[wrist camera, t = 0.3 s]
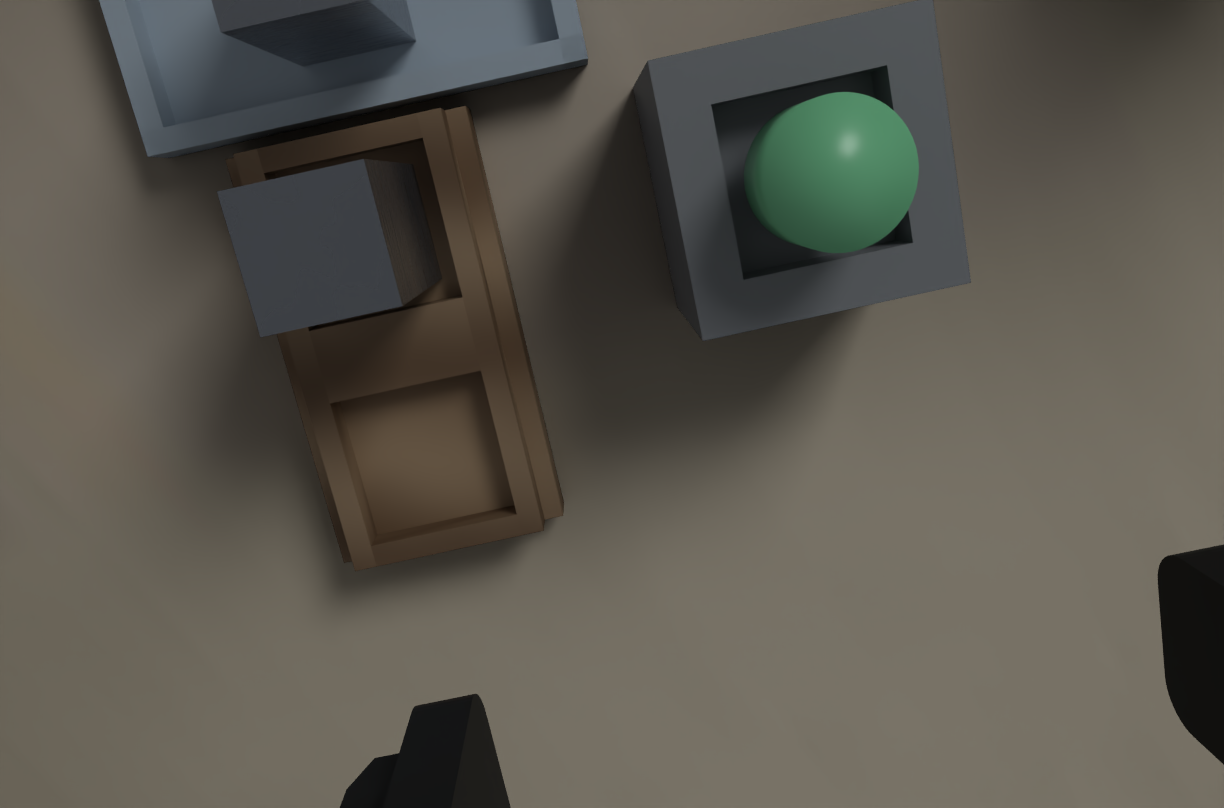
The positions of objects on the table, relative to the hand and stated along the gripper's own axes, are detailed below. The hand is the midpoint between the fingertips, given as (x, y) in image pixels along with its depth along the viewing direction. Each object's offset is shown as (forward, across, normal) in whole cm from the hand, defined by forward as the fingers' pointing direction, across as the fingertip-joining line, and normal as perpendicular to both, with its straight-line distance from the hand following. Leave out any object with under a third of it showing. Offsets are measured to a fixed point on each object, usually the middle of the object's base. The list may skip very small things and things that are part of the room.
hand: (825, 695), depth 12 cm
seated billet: (+25, +9, -6) cm, 27 cm away
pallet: (+26, +9, -2) cm, 28 cm away
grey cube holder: (+26, -5, -5) cm, 27 cm away
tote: (+26, +8, -14) cm, 31 cm away
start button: (+18, -5, -5) cm, 20 cm away
